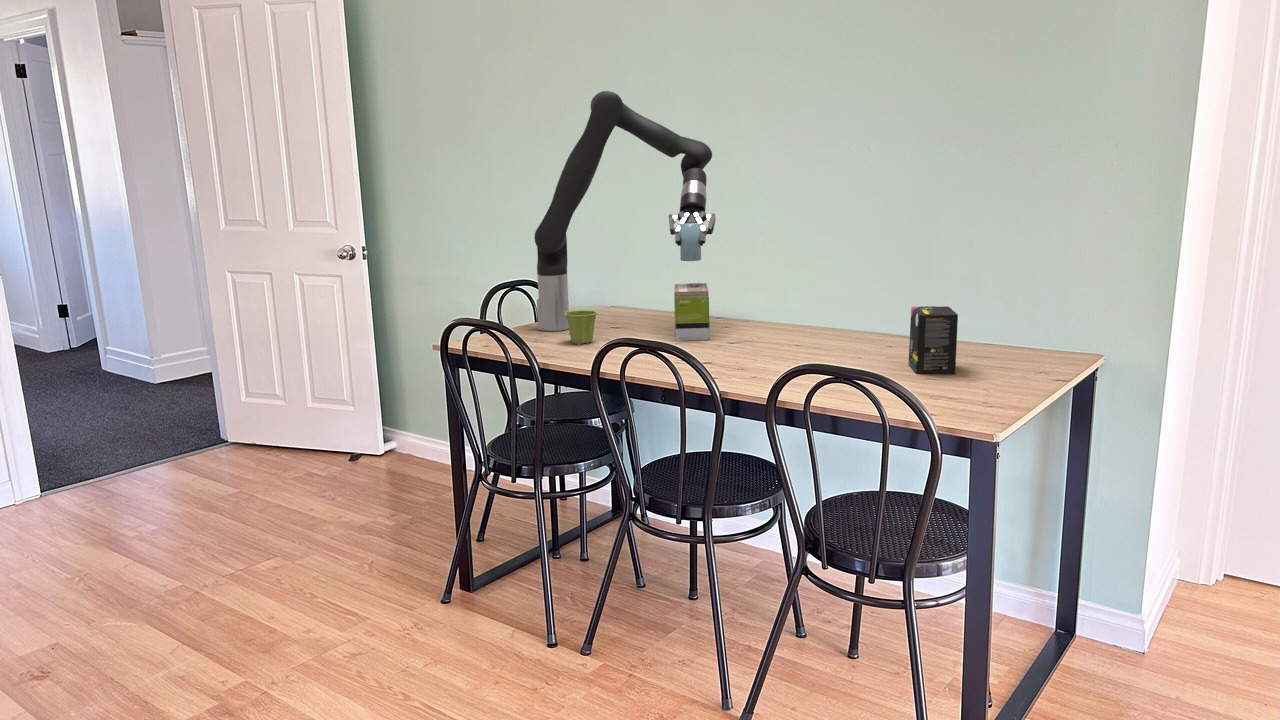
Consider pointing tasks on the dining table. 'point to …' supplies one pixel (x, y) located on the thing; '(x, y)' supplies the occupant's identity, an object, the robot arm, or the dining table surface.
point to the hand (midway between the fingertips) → (690, 243)
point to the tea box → (691, 311)
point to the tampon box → (933, 340)
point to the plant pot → (581, 325)
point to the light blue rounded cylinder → (690, 241)
